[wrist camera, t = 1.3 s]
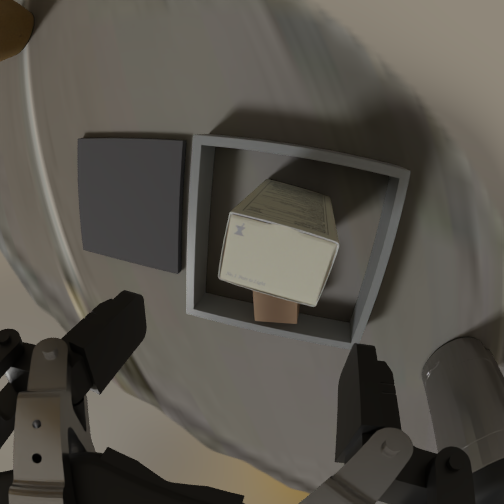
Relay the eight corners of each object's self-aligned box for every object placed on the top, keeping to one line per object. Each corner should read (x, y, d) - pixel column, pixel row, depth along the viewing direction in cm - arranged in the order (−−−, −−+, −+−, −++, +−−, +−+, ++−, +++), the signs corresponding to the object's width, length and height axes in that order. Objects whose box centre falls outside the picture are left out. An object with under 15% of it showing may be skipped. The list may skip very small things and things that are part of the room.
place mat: (186, 140, 27) (182, 140, 26) (181, 270, 33) (177, 274, 32) (82, 138, 29) (77, 138, 29) (87, 247, 35) (83, 249, 34)
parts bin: (400, 166, 24) (410, 171, 20) (354, 329, 31) (356, 350, 28) (208, 133, 26) (193, 134, 23) (198, 296, 34) (186, 313, 30)
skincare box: (256, 220, 29) (211, 280, 18) (266, 175, 27) (225, 209, 16) (320, 239, 28) (315, 312, 17) (334, 195, 26) (341, 243, 15)
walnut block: (301, 266, 29) (297, 286, 26) (300, 301, 31) (296, 323, 27) (261, 265, 30) (252, 283, 27) (263, 299, 32) (254, 320, 28)
